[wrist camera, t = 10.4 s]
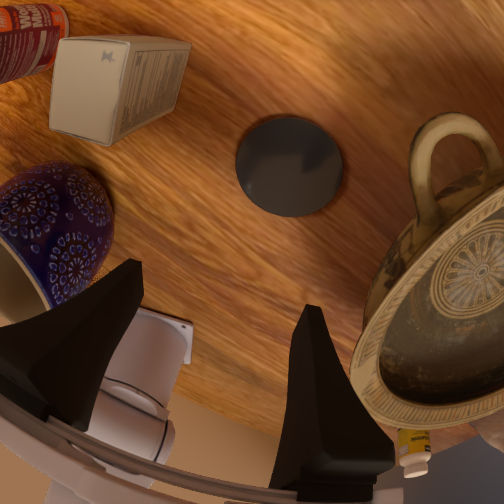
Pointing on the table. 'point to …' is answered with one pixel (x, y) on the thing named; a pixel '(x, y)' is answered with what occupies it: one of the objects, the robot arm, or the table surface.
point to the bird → (491, 428)
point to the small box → (114, 84)
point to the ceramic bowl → (439, 296)
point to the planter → (50, 237)
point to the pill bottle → (30, 38)
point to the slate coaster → (289, 166)
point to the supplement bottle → (414, 451)
